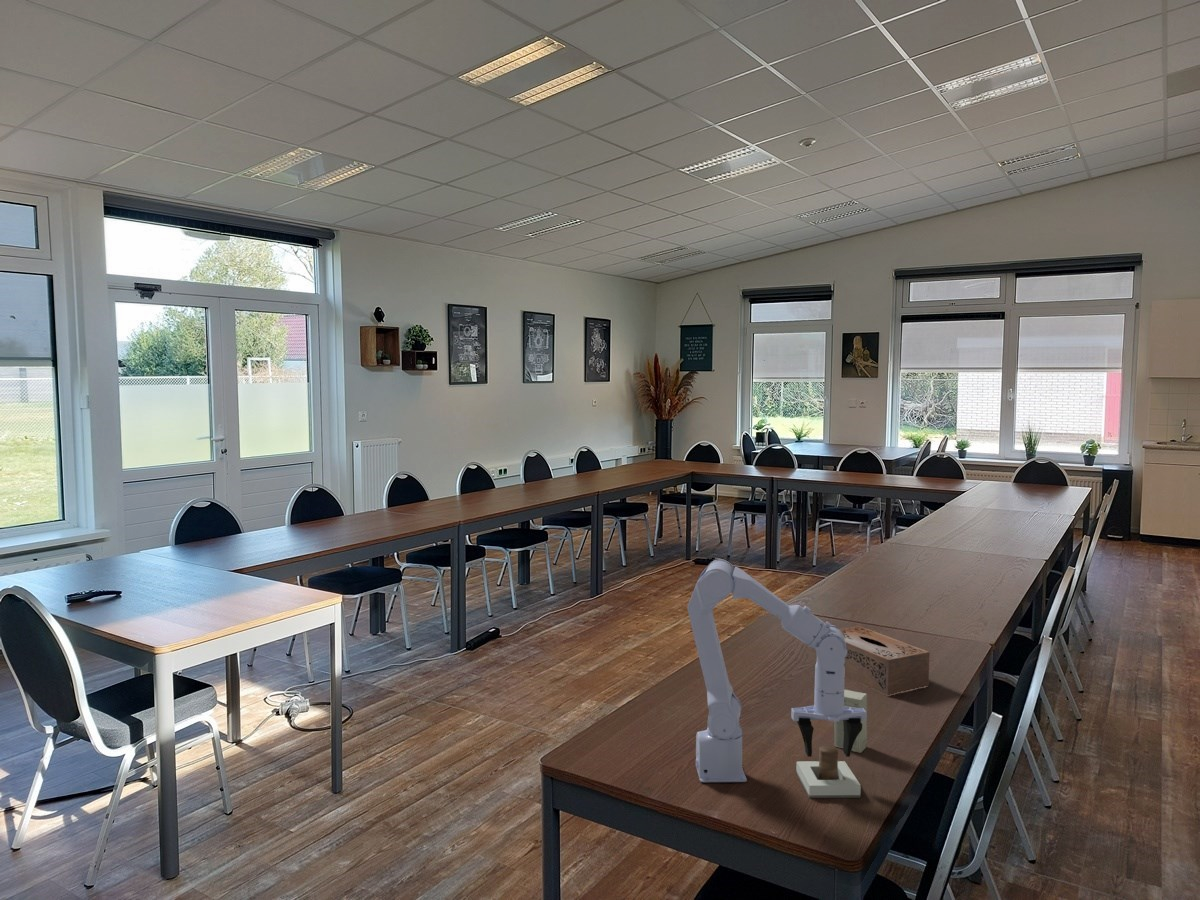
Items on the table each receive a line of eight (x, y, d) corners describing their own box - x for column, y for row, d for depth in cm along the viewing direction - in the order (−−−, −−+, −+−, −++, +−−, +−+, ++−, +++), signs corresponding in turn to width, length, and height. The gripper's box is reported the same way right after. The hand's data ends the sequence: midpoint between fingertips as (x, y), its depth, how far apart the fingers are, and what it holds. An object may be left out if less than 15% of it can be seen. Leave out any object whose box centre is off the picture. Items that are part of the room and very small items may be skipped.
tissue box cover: (820, 666, 230) (821, 632, 229) (858, 658, 236) (859, 625, 235) (887, 697, 206) (888, 660, 206) (928, 688, 213) (929, 651, 212)
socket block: (809, 797, 156) (809, 785, 156) (796, 773, 166) (796, 761, 166) (860, 797, 156) (860, 785, 156) (844, 772, 166) (844, 761, 166)
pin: (820, 787, 159) (821, 753, 159) (817, 778, 163) (817, 745, 162) (838, 788, 159) (839, 754, 158) (835, 779, 162) (836, 746, 162)
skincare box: (867, 746, 178) (868, 693, 177) (860, 754, 174) (862, 700, 173) (839, 739, 182) (840, 687, 181) (832, 746, 178) (833, 693, 177)
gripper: (798, 696, 155) (796, 763, 157) (872, 696, 156) (870, 763, 157) (789, 682, 162) (787, 747, 164) (860, 682, 163) (858, 747, 164)
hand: (827, 754), depth 161 cm, fingers open, 7 cm apart
